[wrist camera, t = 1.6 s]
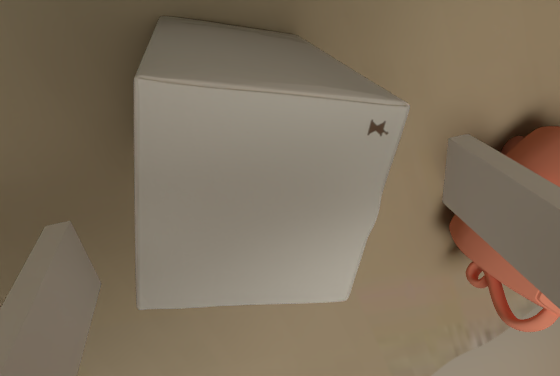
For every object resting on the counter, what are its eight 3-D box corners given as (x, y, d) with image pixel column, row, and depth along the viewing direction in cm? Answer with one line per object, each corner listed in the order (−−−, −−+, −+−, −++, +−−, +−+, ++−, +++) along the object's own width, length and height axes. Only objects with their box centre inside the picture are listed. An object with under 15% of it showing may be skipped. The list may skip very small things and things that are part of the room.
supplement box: (155, 10, 23) (126, 63, 10) (300, 33, 25) (422, 98, 13) (152, 152, 27) (129, 317, 14) (277, 160, 29) (352, 306, 17)
